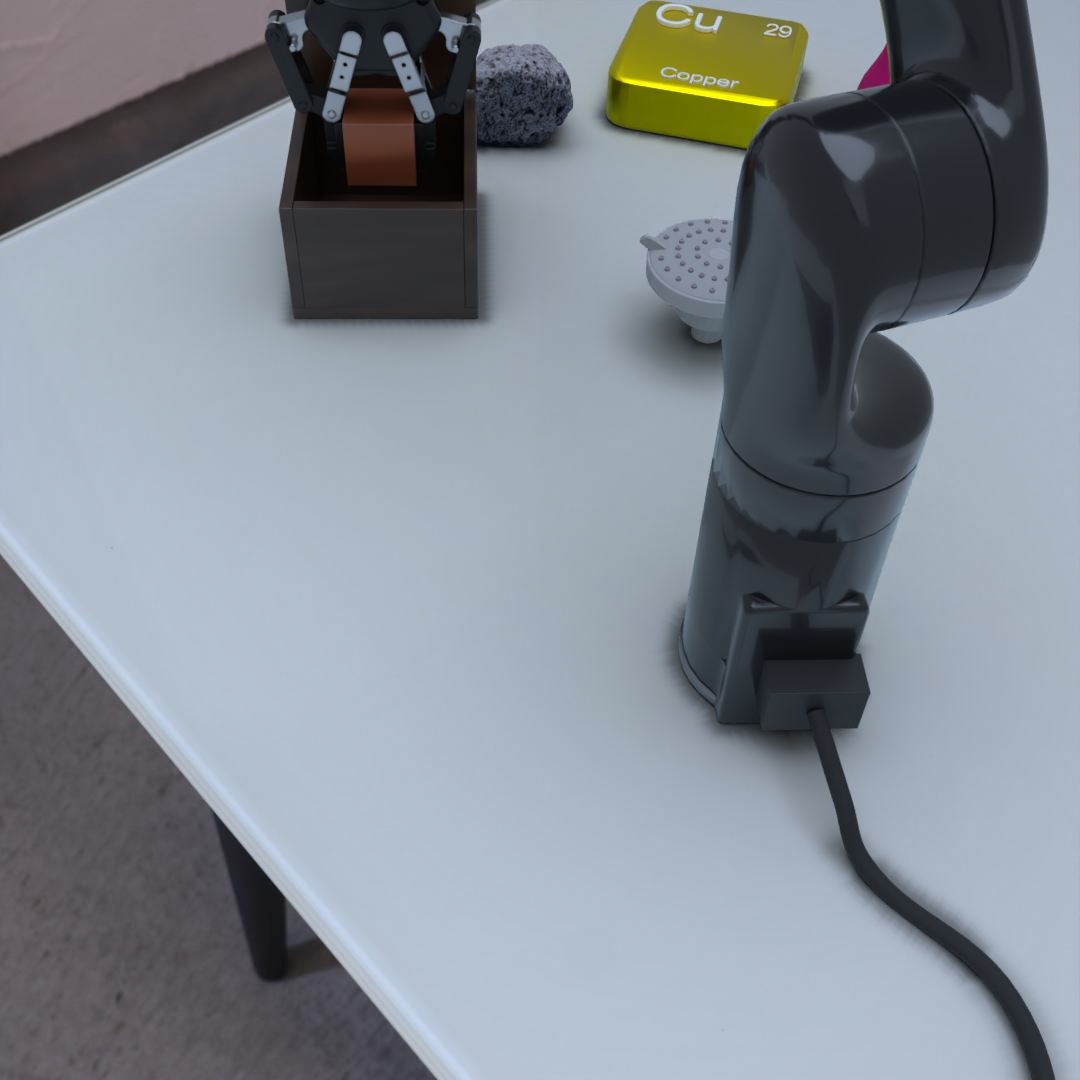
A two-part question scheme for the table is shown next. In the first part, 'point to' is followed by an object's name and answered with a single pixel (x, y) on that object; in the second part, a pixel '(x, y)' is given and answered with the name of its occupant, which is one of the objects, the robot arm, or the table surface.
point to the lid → (434, 58)
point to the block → (379, 138)
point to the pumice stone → (520, 95)
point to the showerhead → (692, 272)
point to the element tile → (703, 72)
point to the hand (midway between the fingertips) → (383, 163)
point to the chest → (382, 230)
